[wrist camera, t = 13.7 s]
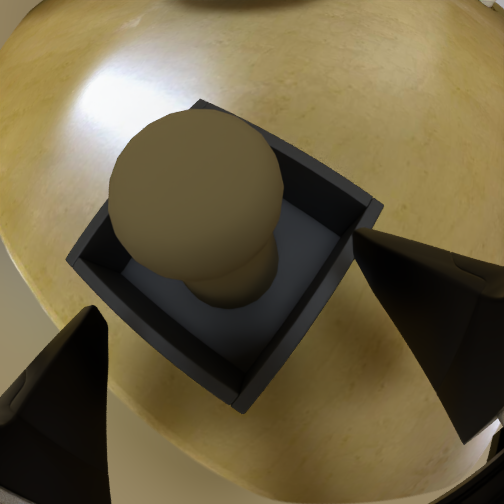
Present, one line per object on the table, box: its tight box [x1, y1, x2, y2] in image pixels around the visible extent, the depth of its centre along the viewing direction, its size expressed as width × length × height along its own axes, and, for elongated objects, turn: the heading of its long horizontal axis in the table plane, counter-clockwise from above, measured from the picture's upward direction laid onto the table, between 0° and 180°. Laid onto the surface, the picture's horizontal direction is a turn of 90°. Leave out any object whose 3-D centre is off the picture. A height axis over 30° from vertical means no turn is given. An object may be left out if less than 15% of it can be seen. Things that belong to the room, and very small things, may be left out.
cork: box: [108, 109, 284, 309], centre depth 12 cm, size 6×6×11 cm
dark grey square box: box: [65, 99, 384, 414], centre depth 15 cm, size 11×11×6 cm
